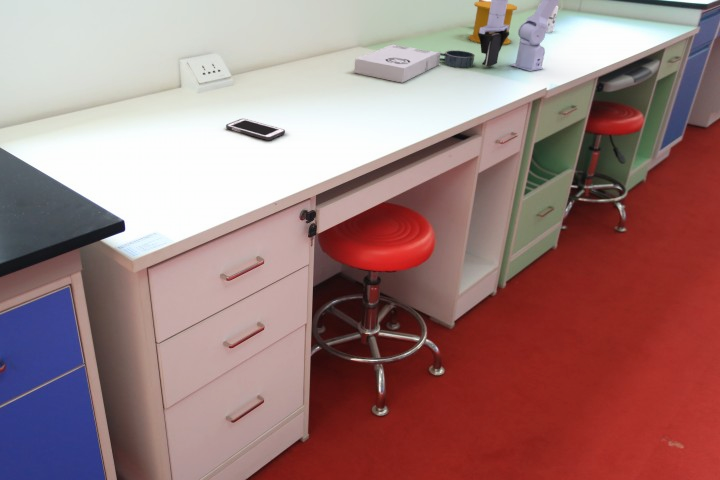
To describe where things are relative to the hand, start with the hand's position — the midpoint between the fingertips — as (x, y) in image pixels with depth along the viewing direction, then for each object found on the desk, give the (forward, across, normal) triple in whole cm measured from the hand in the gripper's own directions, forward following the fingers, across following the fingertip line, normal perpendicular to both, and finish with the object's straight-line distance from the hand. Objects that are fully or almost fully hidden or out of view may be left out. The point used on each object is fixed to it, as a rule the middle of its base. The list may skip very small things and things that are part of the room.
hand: (490, 52), depth 253 cm
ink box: (+6, +82, +35) cm, 89 cm away
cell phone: (+6, -116, -17) cm, 117 cm away
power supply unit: (+6, -34, +14) cm, 37 cm away
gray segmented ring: (+6, -8, +10) cm, 14 cm away
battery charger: (+5, 0, 0) cm, 5 cm away
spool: (+6, +39, +32) cm, 51 cm away
